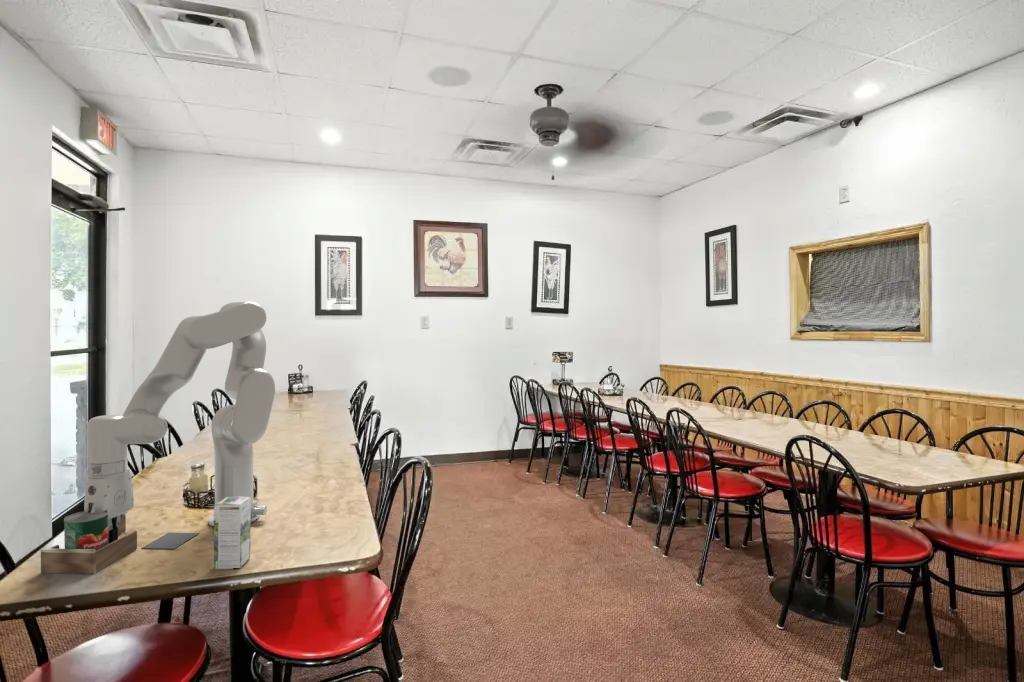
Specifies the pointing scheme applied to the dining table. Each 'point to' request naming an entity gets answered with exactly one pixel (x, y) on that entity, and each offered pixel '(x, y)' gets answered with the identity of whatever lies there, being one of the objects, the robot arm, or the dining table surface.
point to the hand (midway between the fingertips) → (109, 545)
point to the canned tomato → (86, 530)
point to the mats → (170, 541)
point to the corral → (88, 555)
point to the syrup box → (232, 532)
